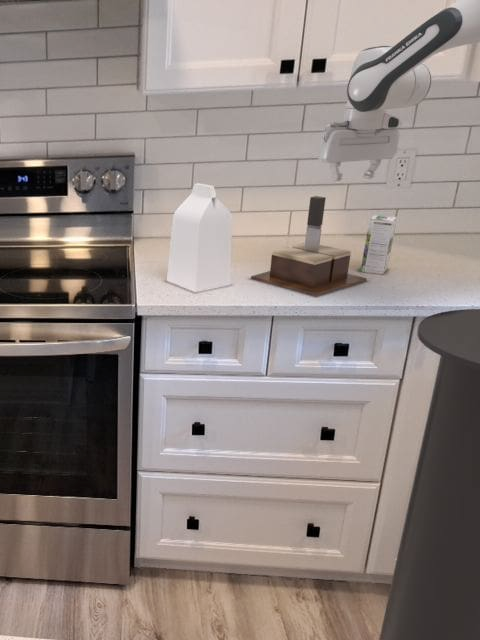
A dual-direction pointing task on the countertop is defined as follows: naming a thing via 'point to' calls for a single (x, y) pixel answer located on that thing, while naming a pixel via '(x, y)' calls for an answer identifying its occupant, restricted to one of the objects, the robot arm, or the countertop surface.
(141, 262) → the countertop surface
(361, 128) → the robot arm
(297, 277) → the brown square slotted block
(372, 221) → the syrup box
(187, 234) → the milk
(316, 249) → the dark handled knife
